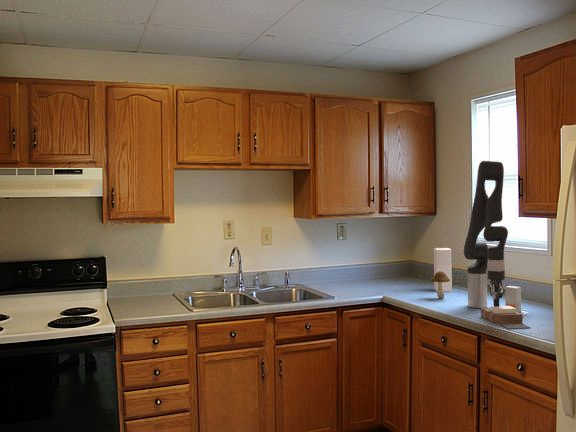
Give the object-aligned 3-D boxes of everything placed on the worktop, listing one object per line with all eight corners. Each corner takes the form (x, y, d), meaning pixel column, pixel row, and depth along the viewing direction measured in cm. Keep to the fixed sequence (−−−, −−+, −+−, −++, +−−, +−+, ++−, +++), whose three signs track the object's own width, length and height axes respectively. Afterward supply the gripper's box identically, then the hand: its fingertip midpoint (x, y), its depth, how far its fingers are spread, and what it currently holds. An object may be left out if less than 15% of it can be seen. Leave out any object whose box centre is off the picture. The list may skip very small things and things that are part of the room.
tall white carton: (436, 291, 324) (436, 249, 323) (434, 289, 333) (433, 248, 332) (452, 291, 323) (451, 249, 322) (449, 289, 332) (448, 247, 331)
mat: (498, 324, 242) (498, 323, 241) (520, 323, 242) (520, 322, 242) (507, 329, 233) (507, 328, 233) (530, 328, 234) (530, 327, 234)
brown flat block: (481, 316, 258) (480, 307, 258) (505, 315, 259) (505, 307, 259) (496, 324, 242) (496, 315, 242) (522, 323, 243) (522, 314, 243)
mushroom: (437, 296, 311) (437, 269, 310) (454, 299, 301) (453, 271, 301) (426, 298, 306) (426, 271, 305) (442, 301, 296) (442, 273, 296)
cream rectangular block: (490, 310, 251) (490, 306, 251) (509, 310, 251) (509, 305, 251) (496, 313, 245) (496, 309, 245) (515, 313, 245) (515, 308, 245)
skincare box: (505, 311, 268) (504, 286, 268) (510, 309, 271) (510, 285, 270) (516, 313, 263) (516, 288, 263) (521, 311, 266) (521, 287, 265)
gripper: (482, 267, 261) (482, 304, 261) (494, 271, 248) (494, 309, 248) (497, 267, 261) (497, 303, 262) (510, 270, 248) (511, 309, 249)
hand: (496, 306), depth 255 cm, fingers closed
